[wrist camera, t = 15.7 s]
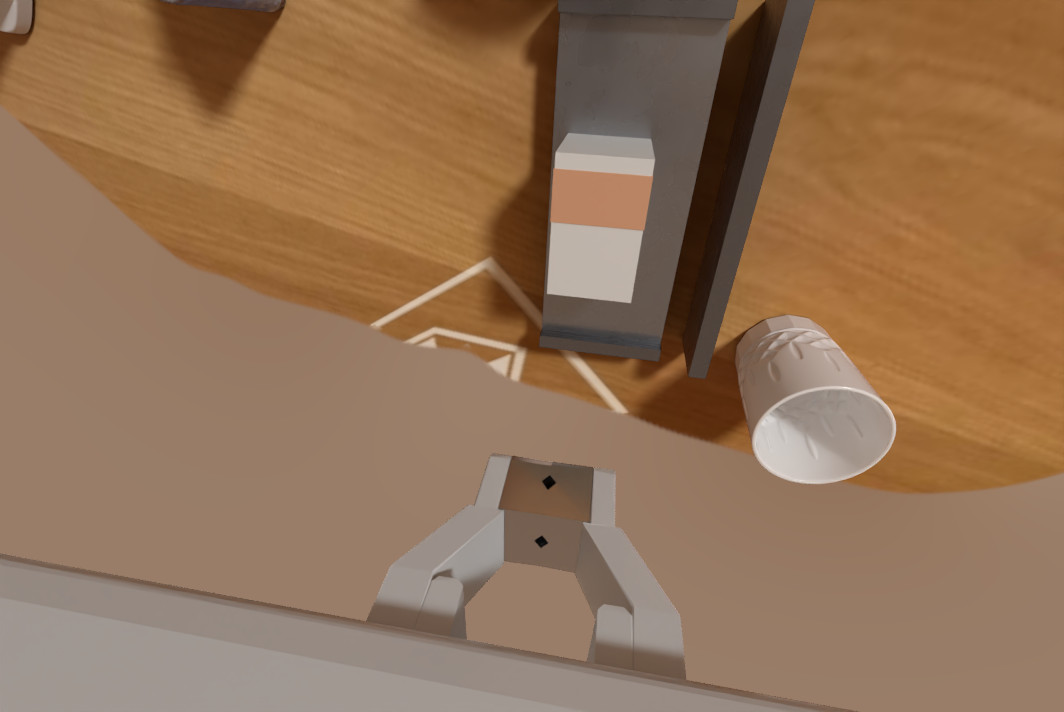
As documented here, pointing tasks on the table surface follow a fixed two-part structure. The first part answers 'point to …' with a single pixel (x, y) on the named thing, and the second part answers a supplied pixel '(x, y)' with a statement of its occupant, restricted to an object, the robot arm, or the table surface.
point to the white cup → (809, 404)
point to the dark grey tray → (668, 153)
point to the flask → (234, 4)
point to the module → (598, 215)
